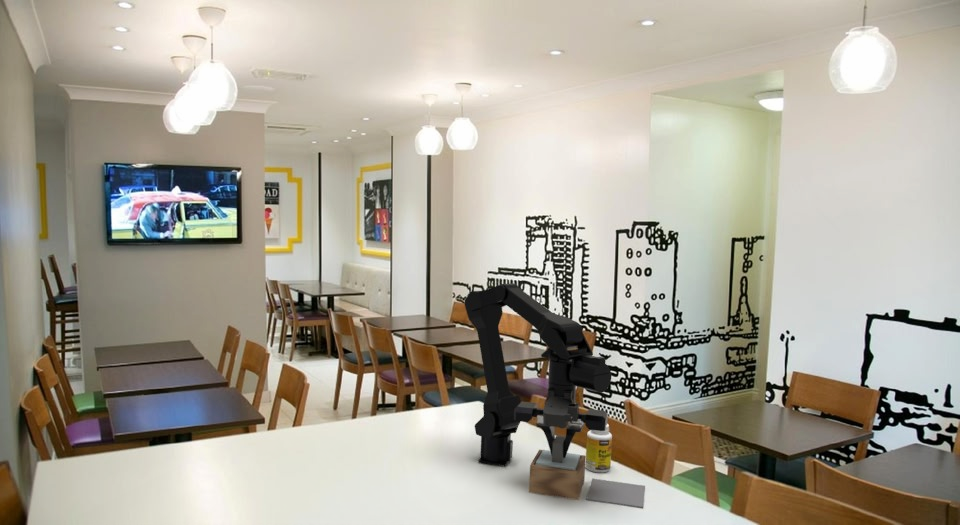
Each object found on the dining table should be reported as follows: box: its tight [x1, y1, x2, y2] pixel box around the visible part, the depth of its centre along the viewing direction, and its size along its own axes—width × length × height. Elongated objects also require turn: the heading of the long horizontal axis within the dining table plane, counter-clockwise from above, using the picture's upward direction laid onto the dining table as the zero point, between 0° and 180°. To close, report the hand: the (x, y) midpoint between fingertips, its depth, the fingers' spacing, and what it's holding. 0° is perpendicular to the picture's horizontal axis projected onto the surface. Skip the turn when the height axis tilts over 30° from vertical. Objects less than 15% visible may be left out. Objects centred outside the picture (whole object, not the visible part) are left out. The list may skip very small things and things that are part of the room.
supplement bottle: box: [585, 423, 613, 474], centre depth 147 cm, size 6×6×10 cm
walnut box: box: [528, 449, 586, 500], centre depth 136 cm, size 10×10×6 cm
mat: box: [585, 478, 646, 509], centre depth 134 cm, size 11×11×1 cm
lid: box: [536, 434, 581, 470], centre depth 136 cm, size 8×8×5 cm
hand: (558, 456), depth 136 cm, fingers closed on lid
